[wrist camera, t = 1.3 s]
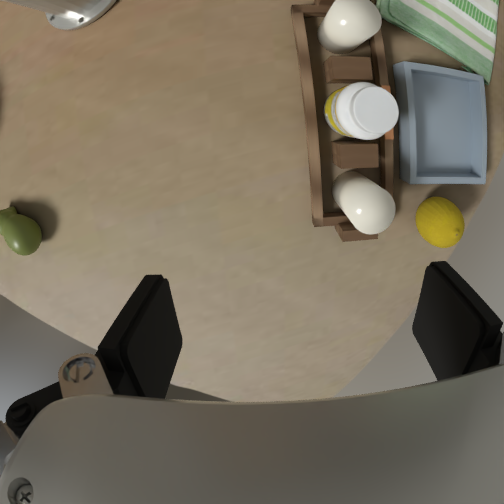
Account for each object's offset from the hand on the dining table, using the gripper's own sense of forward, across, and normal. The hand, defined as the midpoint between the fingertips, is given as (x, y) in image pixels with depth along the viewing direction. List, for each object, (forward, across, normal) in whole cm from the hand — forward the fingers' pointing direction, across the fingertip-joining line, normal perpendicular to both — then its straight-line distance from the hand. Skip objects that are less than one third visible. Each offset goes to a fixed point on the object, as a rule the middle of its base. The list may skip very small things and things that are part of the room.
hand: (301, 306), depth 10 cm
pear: (+25, +38, +3) cm, 46 cm away
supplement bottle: (+25, -8, -7) cm, 27 cm away
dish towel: (+26, -24, -27) cm, 44 cm away
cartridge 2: (+25, -8, +2) cm, 26 cm away
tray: (+25, -20, -6) cm, 32 cm away
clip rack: (+25, -8, -7) cm, 27 cm away
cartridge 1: (+25, -8, -16) cm, 30 cm away
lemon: (+25, -18, +5) cm, 31 cm away
